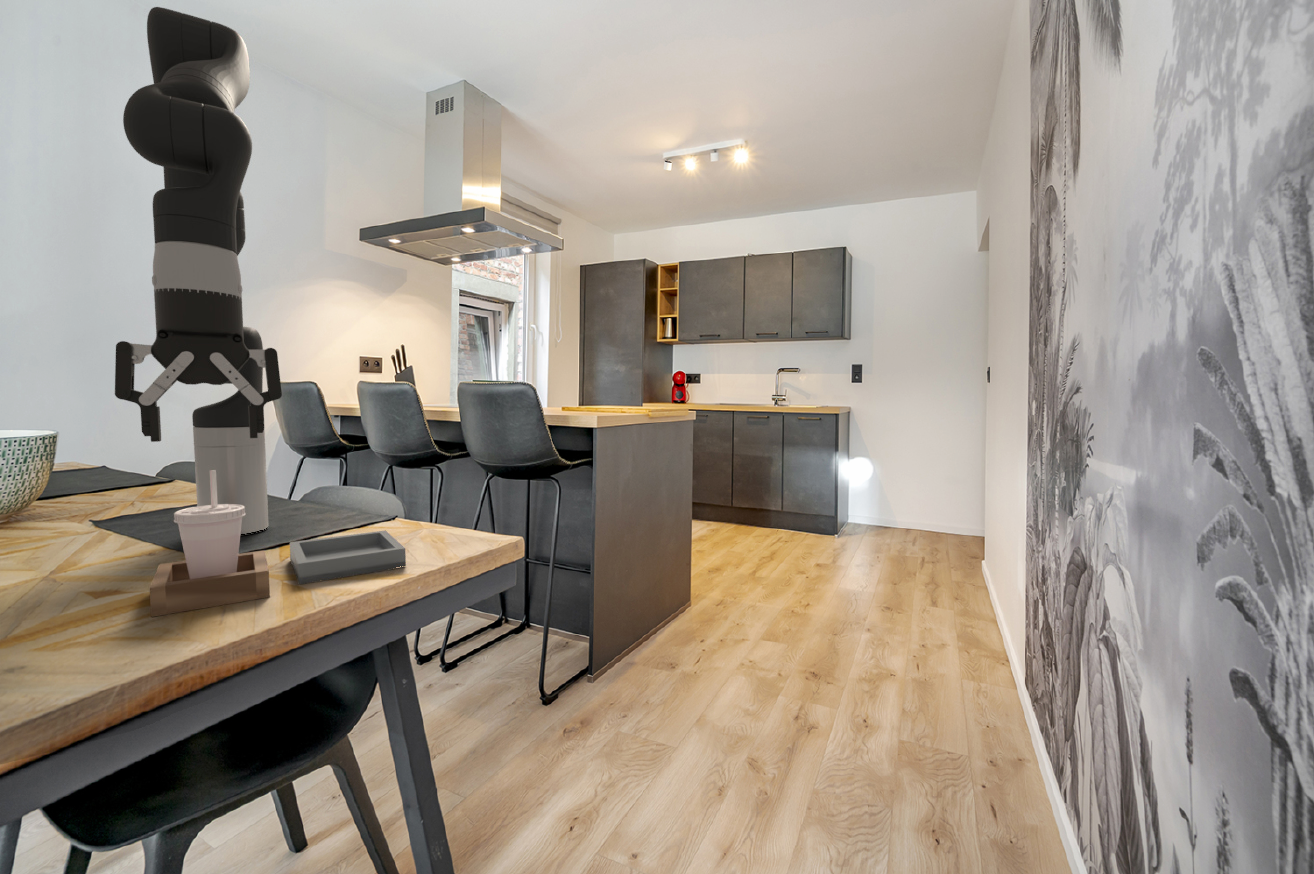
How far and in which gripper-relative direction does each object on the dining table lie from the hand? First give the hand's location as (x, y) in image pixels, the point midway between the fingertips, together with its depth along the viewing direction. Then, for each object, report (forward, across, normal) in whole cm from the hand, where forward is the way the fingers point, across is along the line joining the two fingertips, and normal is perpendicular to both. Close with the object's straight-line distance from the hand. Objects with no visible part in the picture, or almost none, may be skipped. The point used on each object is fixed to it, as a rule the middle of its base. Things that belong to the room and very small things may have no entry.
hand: (206, 439), depth 64 cm
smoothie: (+18, 0, 0) cm, 18 cm away
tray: (+18, -14, -4) cm, 23 cm away
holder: (+18, 0, 0) cm, 18 cm away
